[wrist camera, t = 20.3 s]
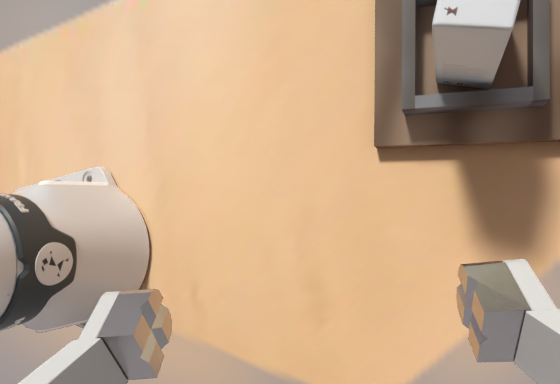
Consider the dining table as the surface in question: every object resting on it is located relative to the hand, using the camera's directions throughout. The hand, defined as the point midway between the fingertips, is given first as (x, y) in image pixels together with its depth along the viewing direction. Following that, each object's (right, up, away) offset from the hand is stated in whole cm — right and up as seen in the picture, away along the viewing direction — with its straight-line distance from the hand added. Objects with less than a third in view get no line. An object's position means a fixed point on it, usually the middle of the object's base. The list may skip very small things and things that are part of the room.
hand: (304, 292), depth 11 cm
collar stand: (+15, +14, +23) cm, 31 cm away
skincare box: (+15, +14, +22) cm, 30 cm away
